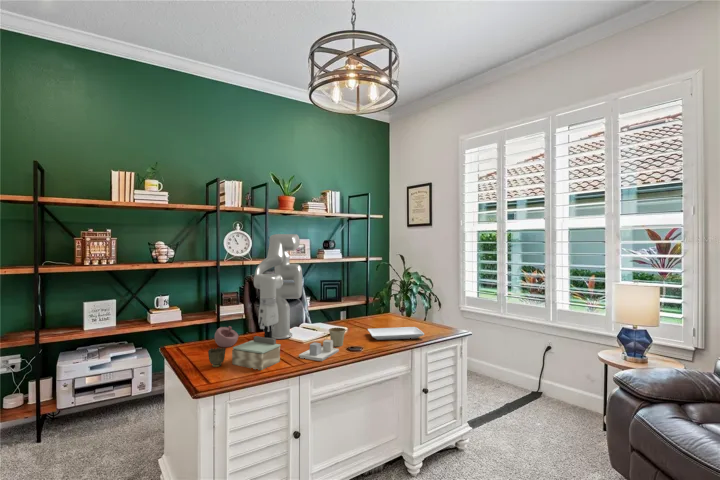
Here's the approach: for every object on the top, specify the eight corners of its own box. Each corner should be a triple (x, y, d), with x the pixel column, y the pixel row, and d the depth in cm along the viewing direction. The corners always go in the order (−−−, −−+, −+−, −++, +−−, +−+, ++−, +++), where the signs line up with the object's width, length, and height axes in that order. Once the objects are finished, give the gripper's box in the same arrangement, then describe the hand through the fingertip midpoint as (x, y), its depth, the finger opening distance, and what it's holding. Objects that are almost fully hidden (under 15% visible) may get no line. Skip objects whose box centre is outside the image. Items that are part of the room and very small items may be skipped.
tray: (425, 339, 215) (425, 333, 215) (372, 341, 210) (372, 335, 210) (416, 332, 232) (416, 326, 232) (366, 334, 227) (366, 328, 227)
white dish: (298, 357, 180) (298, 354, 180) (317, 348, 196) (317, 345, 196) (321, 361, 175) (321, 358, 175) (338, 351, 190) (338, 348, 190)
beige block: (323, 351, 187) (323, 341, 187) (325, 349, 191) (325, 339, 191) (330, 352, 186) (330, 342, 186) (333, 349, 190) (333, 340, 190)
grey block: (309, 354, 182) (309, 344, 182) (314, 352, 185) (313, 342, 185) (316, 355, 180) (316, 345, 180) (320, 353, 184) (320, 343, 184)
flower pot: (343, 348, 196) (343, 332, 196) (326, 347, 198) (326, 331, 198) (347, 343, 205) (347, 327, 205) (331, 342, 207) (331, 327, 207)
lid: (232, 349, 170) (232, 342, 170) (252, 342, 181) (252, 335, 181) (262, 353, 162) (262, 346, 162) (280, 346, 174) (280, 339, 174)
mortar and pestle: (230, 351, 191) (230, 329, 191) (209, 350, 193) (209, 328, 193) (242, 344, 202) (242, 323, 202) (222, 343, 205) (222, 323, 205)
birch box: (232, 365, 169) (232, 349, 169) (251, 357, 181) (251, 342, 181) (261, 370, 162) (261, 354, 162) (279, 361, 174) (279, 346, 174)
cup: (211, 364, 170) (211, 347, 170) (227, 364, 171) (227, 346, 171) (205, 370, 163) (205, 352, 163) (222, 369, 163) (222, 351, 163)
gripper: (264, 304, 171) (264, 344, 171) (283, 299, 184) (283, 336, 184) (251, 303, 174) (251, 342, 174) (271, 298, 188) (271, 335, 187)
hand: (268, 339), depth 179 cm, fingers closed
